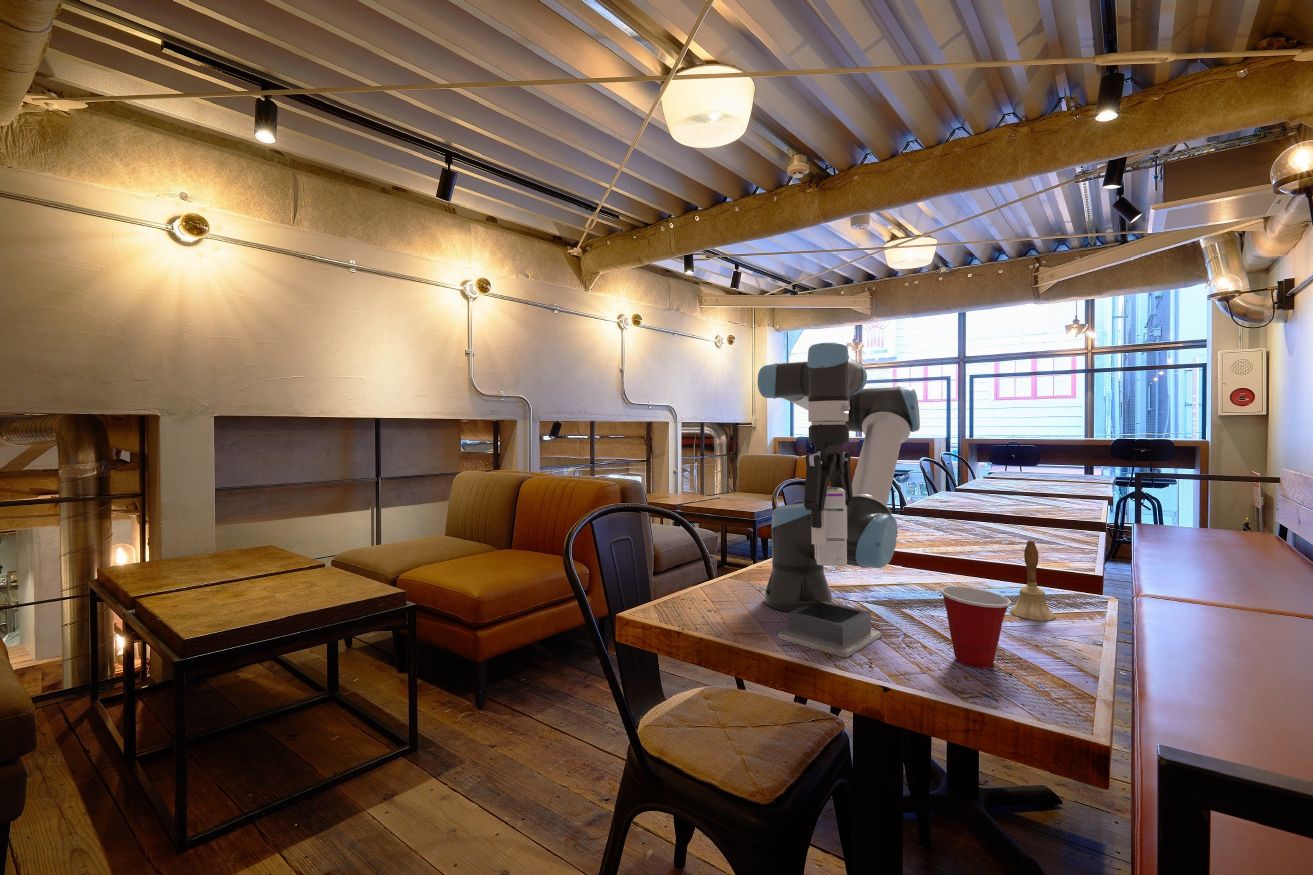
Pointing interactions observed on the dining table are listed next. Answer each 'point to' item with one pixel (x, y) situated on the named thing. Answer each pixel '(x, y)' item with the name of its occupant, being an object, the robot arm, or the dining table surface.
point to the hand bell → (1032, 591)
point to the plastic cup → (974, 623)
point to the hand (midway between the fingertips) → (829, 540)
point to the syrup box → (834, 530)
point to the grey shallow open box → (830, 628)
